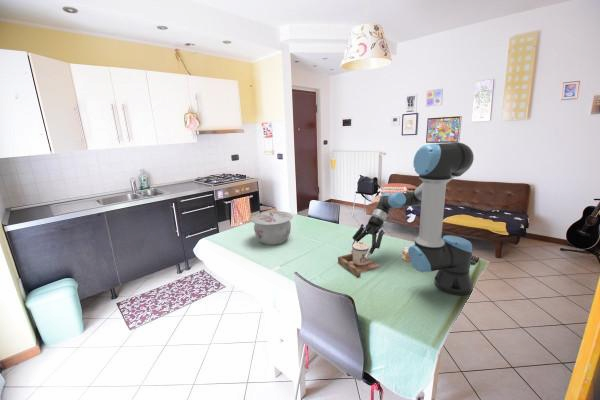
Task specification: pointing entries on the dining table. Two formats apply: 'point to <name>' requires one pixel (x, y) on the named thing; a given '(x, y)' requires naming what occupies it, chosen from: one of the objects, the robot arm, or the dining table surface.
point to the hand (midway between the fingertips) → (358, 255)
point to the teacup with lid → (360, 253)
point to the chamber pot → (272, 227)
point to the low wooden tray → (355, 265)
